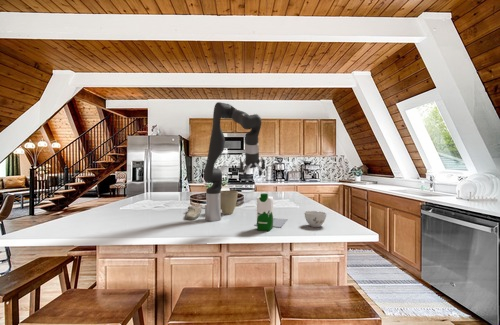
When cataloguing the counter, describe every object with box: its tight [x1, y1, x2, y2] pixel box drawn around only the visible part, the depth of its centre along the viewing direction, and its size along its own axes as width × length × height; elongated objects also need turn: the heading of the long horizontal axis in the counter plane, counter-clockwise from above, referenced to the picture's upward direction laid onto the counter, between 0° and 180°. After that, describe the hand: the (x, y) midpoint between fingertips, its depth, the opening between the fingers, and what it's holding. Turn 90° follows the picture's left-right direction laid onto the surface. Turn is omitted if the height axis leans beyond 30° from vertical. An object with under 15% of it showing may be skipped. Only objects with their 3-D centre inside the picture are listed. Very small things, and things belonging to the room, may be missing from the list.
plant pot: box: [221, 190, 239, 215], centre depth 192 cm, size 15×15×16 cm
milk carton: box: [256, 193, 274, 232], centre depth 147 cm, size 9×9×20 cm
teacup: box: [303, 210, 327, 228], centre depth 155 cm, size 15×12×8 cm
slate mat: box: [254, 217, 288, 229], centre depth 163 cm, size 16×22×1 cm
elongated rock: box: [185, 205, 202, 221], centre depth 186 cm, size 35×5×10 cm
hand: (252, 176), depth 151 cm, fingers open, 8 cm apart
